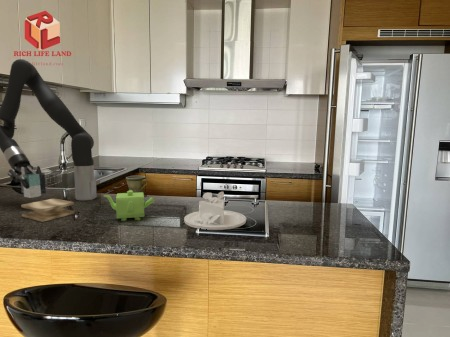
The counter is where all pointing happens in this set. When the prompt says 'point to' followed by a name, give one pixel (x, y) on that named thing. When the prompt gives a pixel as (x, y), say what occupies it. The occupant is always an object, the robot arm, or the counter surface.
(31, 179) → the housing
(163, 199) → the counter surface
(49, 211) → the stand
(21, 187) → the small box
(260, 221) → the counter surface
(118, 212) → the kettle
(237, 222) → the dish
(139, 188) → the ceramic cup
